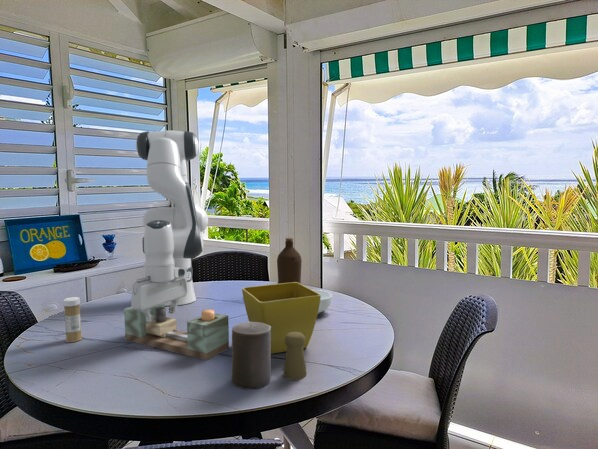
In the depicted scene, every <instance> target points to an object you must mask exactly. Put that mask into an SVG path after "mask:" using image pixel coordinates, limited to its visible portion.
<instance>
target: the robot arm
mask: <svg viewBox="0 0 598 449" xmlns="http://www.w3.org/2000/svg"><path fill="white" fill-rule="evenodd" d="M135 149H136V152H137V154H138V156H139V157H140V158H141V159H142V160H144V161H147V163H146V179H147V180H146V181H147V184H148V185H149V187H150V188H151V189H152V190H153V191H154V192H156V193H157V194H159V195H161V196H162V197H163V198H164V199H166V200H167V201H169V202H172V203H173V204H174V205H175V206H174V207H173V206H171V207H170V206H169V207H168V206H167V207H166V206H165V207H164V206H161V207H160V206H158V207H154V208H149V209H148V210H145V212H144V214H143V217H142V225H143V228H144V236H143V237H142V252H143V254H144V255H145V260H144V277H141V278H137V279H136V281H134V283H132V290H131V297H130V300H131V301H130V302H131V304H130V307H132V308H133V309H134V310H138V311H142V312H143V313H144V315H145V316H146V321H147V322H151V321H153V320H154V319H153V318H154V315H151V314H150V312H149V311H151V307H154V306H157V305H160V304H164V307H168V306H170V307H168V313H169V314H171V315H173V314H175V313H177V306H181V305H187V304H190V303H194V302H196V300H197V296H196V294H195V289H194V288H195V287H194V282H193V273H194V272H193V266H192V260H194V259H196V258H197V257H199V255H201V254H202V252H203V250H204V246H205V244H204V237H203V235H202V233H203V232H205V230H206V229H207V227H208V224H209V215H208V213H207V212H206V210H204V209H203V208H202V207H200V206H199V205H198V204H197V203H196V202H195V200H194V196H193V190H192V187H191V185H190V183H189V180H188V168H187V162H190V160H191V161H192V160H193V159H195V158H196V157H197V155H198V152H199V150H200V144H199V141H198V138H197V136H196V134H195V132H191V131H187V130H185V131H183V130H182V131H181V130H171V129H169V130H156V131H149V130H148V131H143V132H141V133H139V134H138V135H137V138H136V142H135Z"/></svg>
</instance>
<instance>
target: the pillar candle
mask: <svg viewBox="0 0 598 449" xmlns="http://www.w3.org/2000/svg"><path fill="white" fill-rule="evenodd" d="M271 358H272V356H271V326H269V325H267V324H264V323H259V322H249V321H245V322H240V323H237V324H234V325H233V326H232V330H231V381H232V382H231V383H232V384H233V385H234V386H235V387H238V388H240V389H244V390H252V389H260V388H263V387H265V386H267V385H268V384H270V382H271V376H272V375H271V366H272V365H271V364H272V363H271V362H272V361H271Z"/></svg>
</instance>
